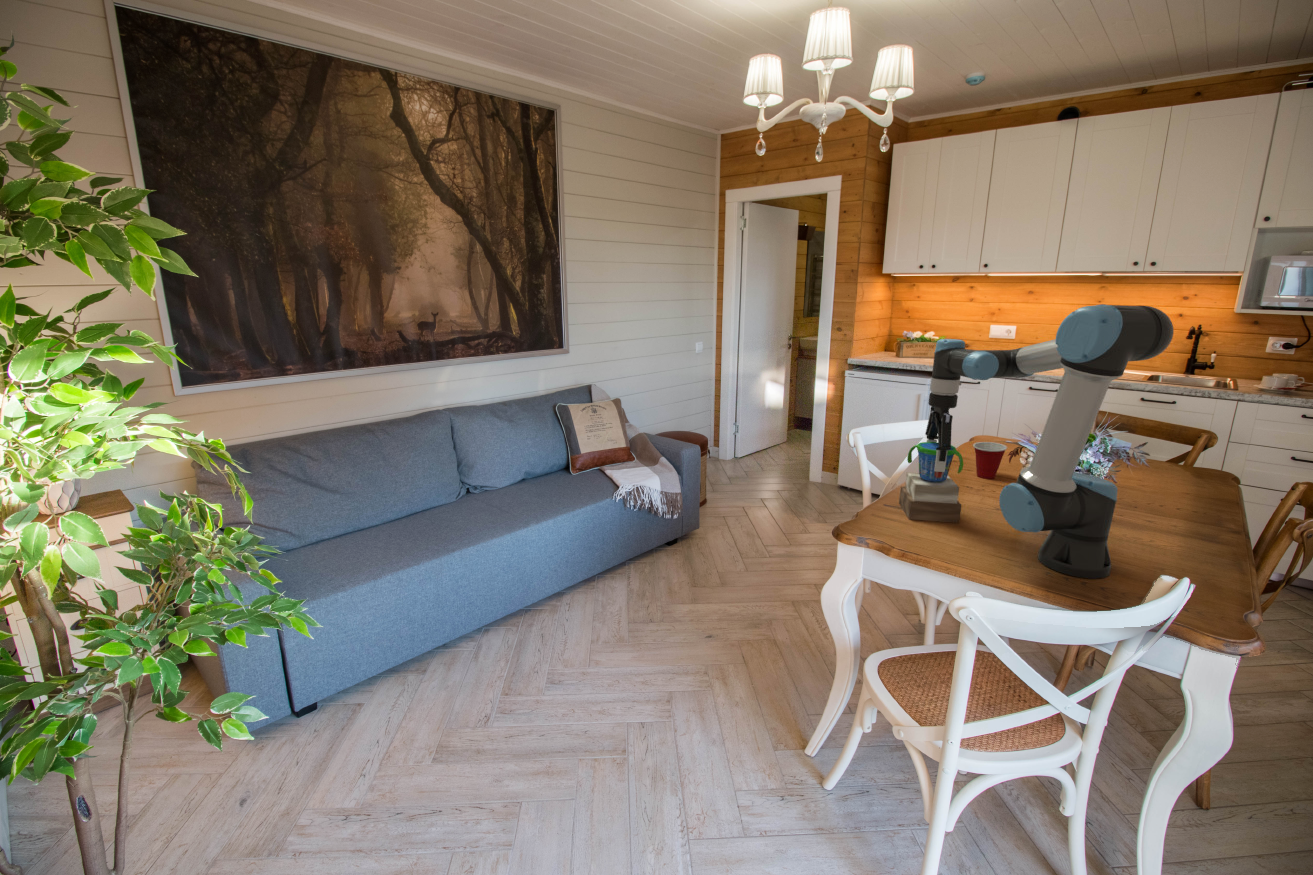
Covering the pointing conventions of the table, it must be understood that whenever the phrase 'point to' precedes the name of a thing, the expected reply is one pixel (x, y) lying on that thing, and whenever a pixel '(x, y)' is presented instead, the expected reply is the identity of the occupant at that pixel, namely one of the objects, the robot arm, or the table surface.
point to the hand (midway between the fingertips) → (934, 465)
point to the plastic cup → (988, 458)
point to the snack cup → (933, 461)
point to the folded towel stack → (930, 499)
